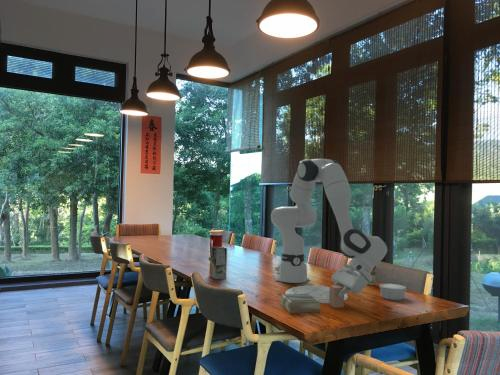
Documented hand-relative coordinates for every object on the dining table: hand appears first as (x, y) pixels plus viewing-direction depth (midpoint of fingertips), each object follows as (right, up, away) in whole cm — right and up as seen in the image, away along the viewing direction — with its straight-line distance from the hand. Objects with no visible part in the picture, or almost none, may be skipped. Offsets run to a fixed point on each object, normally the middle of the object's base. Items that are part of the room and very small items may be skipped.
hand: (335, 294), depth 162 cm
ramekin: (+29, -6, +17) cm, 34 cm away
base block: (-15, -4, -4) cm, 16 cm away
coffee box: (-52, -5, +51) cm, 73 cm away
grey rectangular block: (0, -5, 0) cm, 5 cm away
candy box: (+26, -7, +45) cm, 52 cm away
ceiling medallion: (-5, -6, +18) cm, 20 cm away
